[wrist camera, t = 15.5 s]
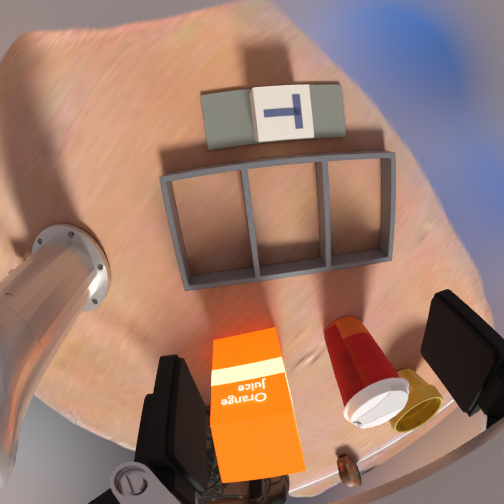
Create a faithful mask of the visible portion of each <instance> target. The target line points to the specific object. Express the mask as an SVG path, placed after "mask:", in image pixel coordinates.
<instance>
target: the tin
mask: <svg viewBox="0 0 504 504" xmlns="http://www.w3.org/2000/svg"><path fill="white" fill-rule="evenodd" d="M337 465H338V470H339V476H340V479H341V481H342V482H343V483H344V484H345V485H347V486H349V487H351V488H355V487H358V486H361V476H360V473H359V470H358V467H357V465H356V463H355V462H354V461H353V460H352V459H351V458H350V457H349V456H348V455H346V456H344V457H341V458H339V459H338V460H337Z"/></svg>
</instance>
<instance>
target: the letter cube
mask: <svg viewBox="0 0 504 504" xmlns="http://www.w3.org/2000/svg"><path fill="white" fill-rule="evenodd" d="M249 97H250V105H251V114H252V122H253V131H254V139H255V140H256V141H258V142H264V141H274V140H286V139H299V138H314V129H313V118H312V108H311V99H310V90H309V84H307V85H281V86H266V87H254V88H252V90H251V92H250V93H249Z"/></svg>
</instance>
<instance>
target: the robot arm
mask: <svg viewBox="0 0 504 504" xmlns="http://www.w3.org/2000/svg"><path fill="white" fill-rule="evenodd" d="M110 280H111V276H110V268H109V265H108V261H107V259H106V257H105V255H104V252H103V251H102V249H101V248H100V246H99V245H98V243H97V242H96V241H95V240H94V239H93V238H92V237H91V236H90V235H89V234H87V233H86V232H85V231H83V230H82V229H80V228H78V227H76V226H73V225H70V224H54V225H52V226H49V227H48V228H46V229H45V230H43V231H42V232H41V233H40V234H39V235H38V236H37V238H36V239H35V241H34V244H33V246H32V252H31V256H29V257H28V258H27V259H26V260H25V261H23V262H22V263H21V264H20V265H19V266H18V267H16V268H15V269H12V270H10V271H9V274H8V275H7V276H6V277H5V278H4V279H3V280H2V281H1V282H0V489H1V488H3V487H4V486H5V484H6V483H7V482H8V480H9V478H10V476H11V474H12V471H13V468H14V465H15V461H16V455H17V450H18V443H19V437H20V432H21V428H22V424H23V420H24V417H25V414H26V411H27V408H28V406H29V403H30V401H31V399H32V396H33V394H34V392H35V390H36V388H37V386H38V384H39V382H40V380H41V379H42V377H43V375H44V373H45V372H46V370H47V368H48V366H49V365H50V363H51V361H52V359H53V358H54V356H55V354H56V353H57V351H58V349H59V347H60V346H61V344H62V342H63V341H64V339H65V338H66V336H67V334H68V333H69V331H70V330H71V328H72V326H73V325H74V323H75V322H76V320H77V319H78V317H79V315H80V314H81V312H85V311H90V310H92V309H94V308H96V307H97V306H99V305H100V304H101V303H102V301H103V300H104V299H105V297H106V295H107V293H108V291H109V287H110ZM421 354H422V356H423V358H424V359H425V360H426V362H427V363H428V364H429V366H430V367H431V368H432V370H433V371H434V372H435V374H436V375H437V376H438V378H439V379H440V380H441V382H442V383H443V384H444V386H445V387H446V389H447V390H448V391H449V393H450V394H451V396H452V397H453V398H454V400H455V401H456V403H457V404H458V406H459V407H460V408H461V410H462V411H463V412H466V413H467V414H468V416H469V417H470V416H472V415H474V414H475V413H477V412H478V411H479V410H480V409H481V410H482V411H483V418H482V427H481V433H480V434H479V435H478V436H476V437H474V438H473V439H471V440H470V441H468V442H467V443H465V444H463V445H462V446H460V447H458V448H457V449H455V450H453V451H452V452H450V453H448V454H446V455H445V456H443V457H441V458H439V459H437V460H435V461H434V462H432V463H430V464H428V465H426V466H424V467H422V468H420V469H418V470H415V471H413V472H411V473H409V474H407V475H405V476H402V477H400V478H398V479H395V480H393V481H391V482H388V483H386V484H383V485H381V486H378V487H376V488H373V489H370V490H368V491H365V492H362V493H359V494H356V495H353V496H350V497H347V498H344V499H340V500H337V501H333V502H330V503H326V504H504V339H503V338H502V337H501V336H500V335H499V334H498V333H497V332H496V331H495V330H494V329H493V328H492V327H491V326H490V325H488V324H487V323H486V322H485V321H484V320H483V319H482V318H481V317H480V316H479V315H478V314H477V313H476V312H474V311H473V310H472V309H471V308H470V307H469V306H468V305H467V304H466V303H464V302H463V301H462V300H461V299H460V298H459V297H458V296H456V295H455V294H454V293H453V292H452V291H451V290H449V289H446V290H443V291H440V292H438V293H435V295H434V298H433V299H432V300H431V305H430V310H429V315H428V320H427V325H426V329H425V334H424V338H423V342H422V346H421ZM207 489H208V481H207V444H206V408H205V404H204V402H203V400H202V398H201V395H200V393H199V391H198V389H197V387H196V385H195V382H194V380H193V378H192V376H191V373H190V371H189V369H188V367H187V364H186V362H185V360H184V358H179V357H178V355H176V354H175V355H168V356H161V357H160V359H159V364H158V370H157V375H156V381H155V386H154V392H153V394H147V395H146V397H145V400H144V405H143V410H142V416H141V421H140V427H139V433H138V439H137V445H136V452H135V459H134V462H126V463H123V464H121V465H119V466H118V467H117V468H116V469H115V470H114V471H113V473H112V474H111V477H110V489H108V490H107V491H106V492H104V493H103V494H101V495H100V496H98V497H97V498H96V499H94V500H93V501H91V502H90V503H88V504H195V498H203V491H207Z"/></svg>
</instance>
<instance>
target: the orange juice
mask: <svg viewBox="0 0 504 504" xmlns="http://www.w3.org/2000/svg"><path fill="white" fill-rule="evenodd" d="M294 413H295V412H294V409H293V403H292V398H291V394H290V389H289V385H288V381H287V377H286V372H285V367H284V363H283V359H282V355H281V350H280V346H279V342H278V338H277V334H276V330H275V327H273V328H269V329H264V330H260V331H255V332H251V333H246V334H242V335H237V336H232V337H227V338H222V339H217V340H214V342H213V363H212V376H211V418H210V427H211V431H212V436H213V441H214V446H215V451H216V456H217V461H218V466H219V470H220V475H221V479H222V483H228V482H238V481H247V480H255V479H262V478H269V477H275V476H281V475H286V474H292V473H297V472H301V471H306V470H305V465H304V459H303V454H302V449H301V442H300V437H299V432H298V428H297V423H296V418H295V414H294Z"/></svg>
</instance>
